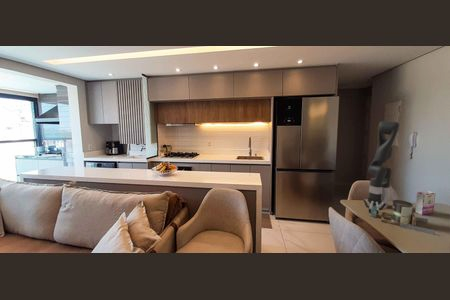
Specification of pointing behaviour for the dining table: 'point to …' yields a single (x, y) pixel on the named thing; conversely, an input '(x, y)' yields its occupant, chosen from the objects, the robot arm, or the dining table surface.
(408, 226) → the track
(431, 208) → the candy bar box
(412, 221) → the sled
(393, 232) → the dining table surface
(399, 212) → the coffee can
